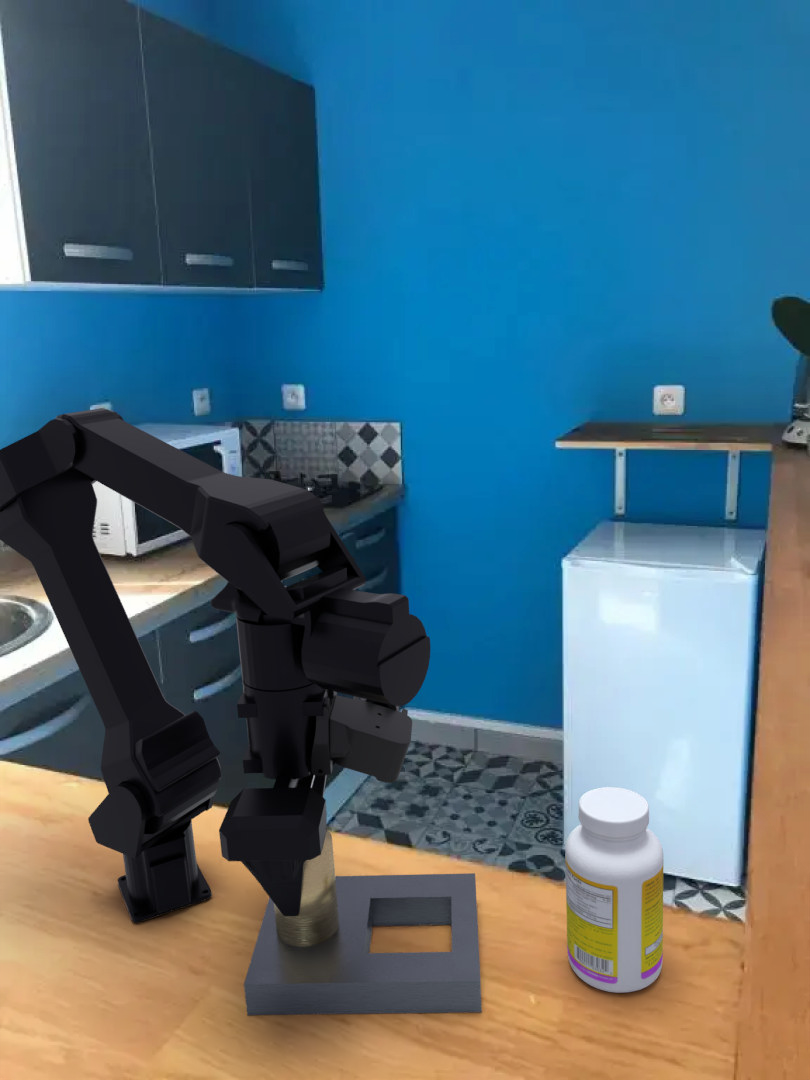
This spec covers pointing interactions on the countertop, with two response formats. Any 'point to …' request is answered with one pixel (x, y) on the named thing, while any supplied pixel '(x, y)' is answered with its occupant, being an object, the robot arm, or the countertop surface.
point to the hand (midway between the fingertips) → (301, 874)
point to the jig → (374, 978)
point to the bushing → (313, 903)
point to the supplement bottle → (614, 892)
